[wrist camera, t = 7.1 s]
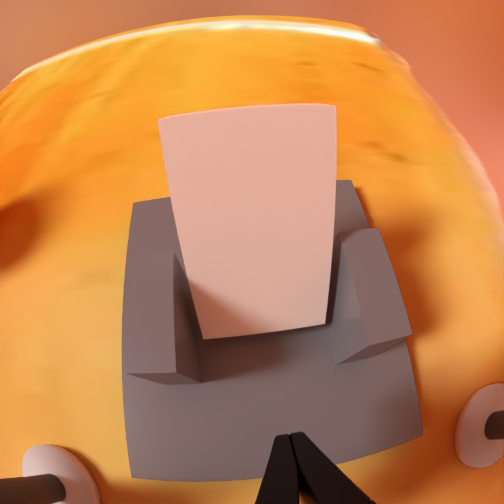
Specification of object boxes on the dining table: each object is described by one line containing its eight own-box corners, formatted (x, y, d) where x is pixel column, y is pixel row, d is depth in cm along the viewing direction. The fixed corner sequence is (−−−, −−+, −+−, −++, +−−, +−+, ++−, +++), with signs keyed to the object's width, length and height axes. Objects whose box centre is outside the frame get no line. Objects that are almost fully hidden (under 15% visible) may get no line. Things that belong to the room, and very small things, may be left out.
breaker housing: (415, 434, 12) (478, 435, 7) (138, 474, 12) (84, 497, 7) (347, 188, 21) (367, 127, 16) (137, 211, 21) (109, 152, 15)
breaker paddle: (324, 323, 14) (336, 105, 9) (203, 339, 14) (157, 120, 9) (316, 303, 15) (321, 103, 10) (204, 317, 15) (166, 116, 10)
